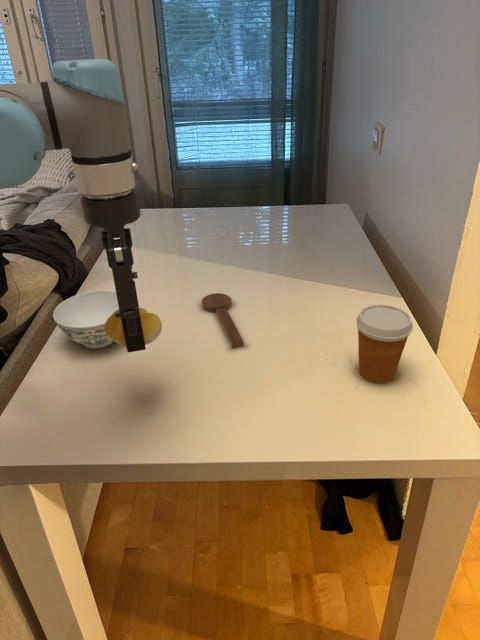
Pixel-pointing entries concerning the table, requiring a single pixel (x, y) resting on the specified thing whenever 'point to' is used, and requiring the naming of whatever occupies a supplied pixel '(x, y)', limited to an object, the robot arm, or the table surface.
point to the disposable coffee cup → (381, 341)
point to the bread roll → (149, 327)
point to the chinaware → (87, 317)
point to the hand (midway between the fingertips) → (134, 332)
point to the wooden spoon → (223, 316)
